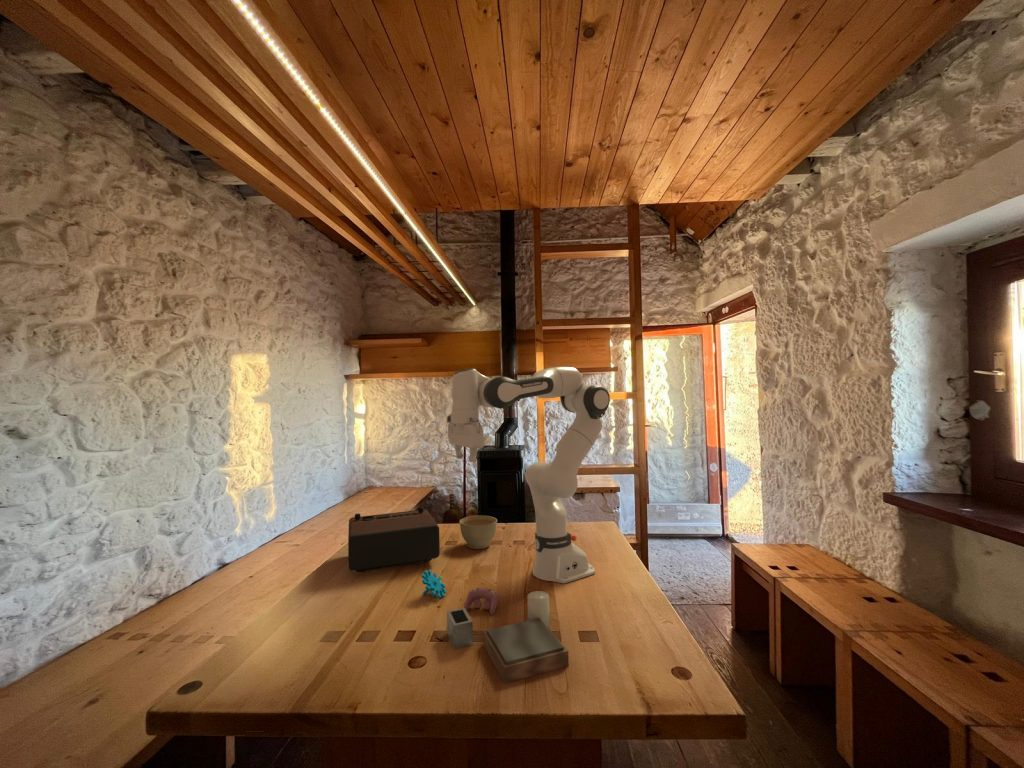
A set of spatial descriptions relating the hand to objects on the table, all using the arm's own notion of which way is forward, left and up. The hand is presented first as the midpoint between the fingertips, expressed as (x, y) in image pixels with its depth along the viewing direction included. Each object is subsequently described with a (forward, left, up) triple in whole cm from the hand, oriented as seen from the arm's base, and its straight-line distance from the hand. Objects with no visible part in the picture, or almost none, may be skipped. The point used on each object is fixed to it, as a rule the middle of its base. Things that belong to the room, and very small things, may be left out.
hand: (465, 460), depth 138 cm
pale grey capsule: (-13, +26, -43) cm, 52 cm away
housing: (+9, +24, -43) cm, 50 cm away
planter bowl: (-16, -43, -44) cm, 63 cm away
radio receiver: (+19, -41, -44) cm, 63 cm away
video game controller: (-1, +11, -44) cm, 45 cm away
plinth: (-4, +37, -43) cm, 57 cm away
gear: (+10, -4, -44) cm, 45 cm away
